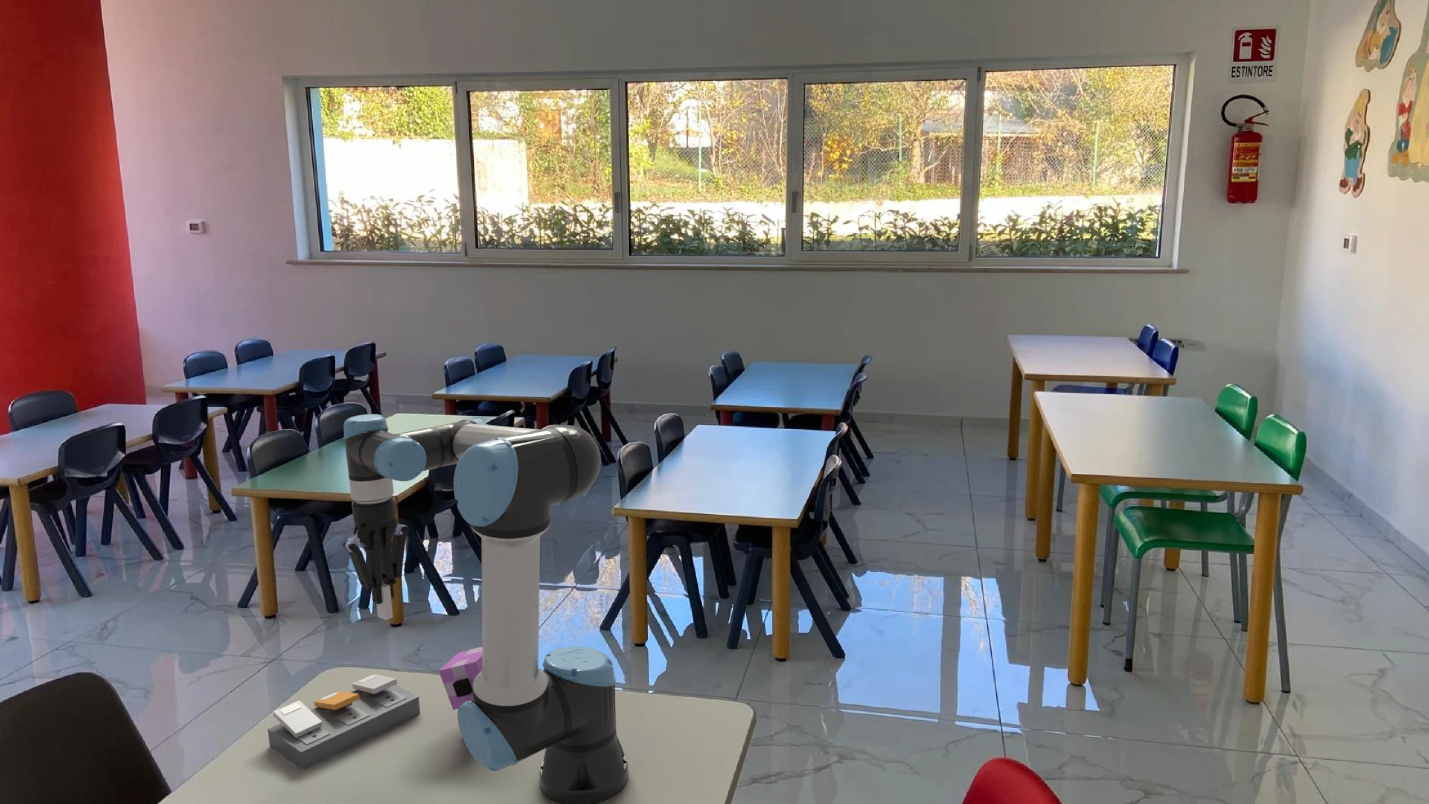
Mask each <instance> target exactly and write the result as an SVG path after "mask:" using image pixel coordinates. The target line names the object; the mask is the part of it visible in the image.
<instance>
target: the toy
mask: <svg viewBox="0 0 1429 804" xmlns="http://www.w3.org/2000/svg"><path fill="white" fill-rule="evenodd" d="M482 670H483V659H482V646H480V647H475V648H472V649H468V650H467V649H466V650H464V651H459V652H457V653H456V654H455V655H454V656H453V657H452V658H451V659H449V661H448V662H446V664H444V665H443V666H442V667H441V668H440V669H439V670H438V673H439V676H440V678H441V681H442V684H443V686H444V687H443V688H444V689H445V691H446V694H447V697H448V699H449V702H450V705H451V708H452V710H453V711H456V710H458V709H459V707H460V706H461V705H462V704H464V703H465V701H471V700H472V699H473V681H474V679H475V677H476V676H477V675H478V674H479V673H480V672H481V671H482Z"/></svg>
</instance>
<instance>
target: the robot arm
mask: <svg viewBox="0 0 1429 804" xmlns="http://www.w3.org/2000/svg"><path fill="white" fill-rule="evenodd" d="M388 431H389V427H388V424H387V419H386V418H385V416H383V415H382V414H377V413H376V414H375V413H374V414H373V413H371V414H360V415H354V416H351V417H349V418H347V419H346V420H345V421H344V422H343V442H344V447H345V455H346V463H347V464H346V465H347V472H348V473H347V474H348V480H349V481H348V482H349V490H350V497H351V500H352V502H351V509H352V510H351V511H352V517H353V522H354V528H353V536H352V537H351V538H350V539H349V541H344V542H342V546H343V548H344V549H345V550H346V551H347V552H348V554H349V557H350V559H351V562H352V565H353V568H354V570H355V573H356V577H357V578H358V582H359V583H360V585H361V586H362V587H364V588H367V589H371V590H370V591H371V598H372V599H371V600H372V602H373V604H376V612H377V618H380V619H382V620H385V621H388V620H391V619H392V618H394V614H393V613H394V611H393V605H392V600H393V599H394V597H395V591H394V585H396V584H397V580H396V579H397V578H402V575H403V569H404V568H403V567H404V566H403V565H404V559H405V558H404V557H405V549H406V538H407V536H408V533H409V532H410V526H408V525H405V524H401V523H398V520H397V518H396V502H395V497H394V496H393V495H394V493H395V492H394V483H393V482H394V481H399V482H410V481H412V480H414V479H416V478H417V477H418V476H420V474H422V473H423V472H426V471H431V470H434V469H439V468H442V467H447V466H452V465H456V466H455V469H454V475H453V476H454V477H453V493H454V494H453V495H454V499H455V500H456V501H457V505H456V507H457V510H458V512H459V514H460V515H461V517H462V518H463V519H464V520H465V522H467V523H468V524H469V525H470V527H471V530H472V531H473V532H474V533H475V534H476V535H478V536H479V537H480V538H481V618H482V619H481V621H482V622H481V627H482V628H481V629H482V630H481V633H482V635H481V639H482V643H481V645H482V646H481V647H482V659H483V670H482V671H481V672H480V673H479V674H478V675H477V676H476V677H475V679H474V681H473V699H472V700H471V701H465V703H464V704H462V705H461V706H460V707H459V709H457V723H458V728H459V731H460V734H461V737H462V740H463V742H464V744H465V745H466V747H467V750H468V751H469V753H470V754H471V755H472V757H473V758H474V760H475V761H476V762H477V764H479V765H480V766H481V767H482V768H484V769H485V770H488V771H491V772H497V771H500V770H503V769H505V768H508V767H511V766H515V765H517V764H518V763H519V762H521V761H523V760H525V759H528V758H529V757H531V756H533V755H535V754H537V753H539V752H541V751H544V750H545V751H544V754H543V755H544V756H543V760H542V762H541V764H540V766H539V784H540V785H539V786H540V789H541V791H542V793H543V794H544V795H545V796H546V797H548V798H549V799H550V800H553V801H555V802H557V803H561V804H596V803H600V802H603V801H605V800H607V799H608V800H609V799H610V798H611V797H614V796H615V795H617V794H618V793H619V792H621V790H623V788H624V787H625V786H626V784H627V783H628V778H629V764H628V760H627V759H628V758H627V757H626V755H625V752H624V749H623V747H622V744H621V742H620V739H619V737H618V735H617V716H616V715H617V714H616V713H617V712H616V709H617V708H616V682H617V681H616V676H615V671H614V664H613V662H612V659H611V658H610V657H609V656H608V655H607V654H606V653H604V652H602V651H601V650H597V649H594V648H590V647H583V646H567V647H566V646H565V647H561V648H556V649H554V650H552V651H550V652H549V653H547V654H546V655H545V657H544V659H543V662H542V667H543V669H541V668H540V667H539V656H540V655H539V648H540V647H539V643H540V642H539V638H540V630H539V629H540V620H539V619H540V565H541V564H540V562H541V561H540V560H541V559H540V558H541V556H540V553H541V550H540V549H541V542H540V541H541V536H542V535H543V534H544V533H546V532H547V531H548V530H549V528H550V526H551V515H552V514H551V508H552V507H553V506H555V505H556V506H557V505H559V504H563V503H565V502H568V501H573V500H575V499H576V498H578V497H580V496H582V495H583V494H584V493H586V492H587V491H588V490H589V489H590V488H591V487H592V486H593V485H594V483H595V482H596V479H597V478H598V476H599V473H600V471H601V464H602V458H601V455H602V454H601V451H600V448H599V445H598V444H597V442H596V440H595V438H594V437H593V435H592V434H590V433H589V432H588V431H586V430H585V429H583V428H581V427H579V426H576V425H569V424H568V425H567V424H564V425H562V424H551V425H547V426H545V427H543V428H541V429H537V428H526V427H525V428H524V427H513V426H501V425H500V426H499V425H491V424H487V422H485V421H484V420H483V419H481V418H472V419H462V420H459V421H455V422H450V423H445V424H442V425H441V424H440V425H436V426H430V427H426V428H420V429H415V430H410V431H404V432H401V433H399V432H398V433H392V432H388ZM361 544H362V545H363V550H364V552H365V556H366V557H364V554H363V551H362V550H361V548H362V546H361ZM365 558H366V560H365Z"/></svg>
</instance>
